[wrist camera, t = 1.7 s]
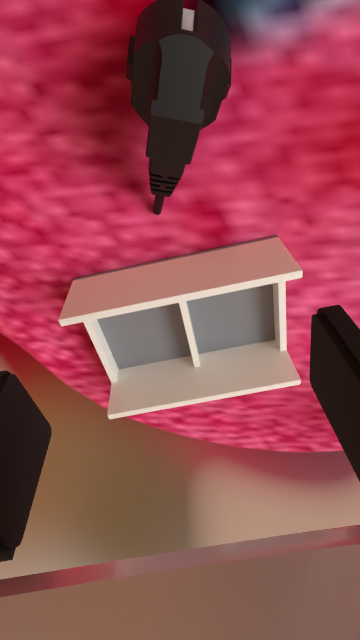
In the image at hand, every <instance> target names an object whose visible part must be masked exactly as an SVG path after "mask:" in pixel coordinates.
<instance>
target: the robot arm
mask: <svg viewBox="0 0 360 640" xmlns="http://www.w3.org/2000/svg"><path fill="white" fill-rule="evenodd" d="M310 382H311V385H312V388H313V390H314V392H315V394H316V396H317V398H318V400H319V402H320V404H321V406H322V408H323V410H324V412H325V414H326V416H327V418H328V420H329V422H330V424H331V426H332V428H333V430H334V432H335V434H336V436H337V438H338V440H339V442H340V444H341V445H342V447H343V449H344V451H345V453H346V455H347V457H348V459H349V461H350V463H351V465H352V467H353V469H354V471H355V473H356V475H357V477H358V479H359V481H360V329H359V328H358V327H357V326H356V324H355V323H354V322H353V321H352V319H351V318H350V317H349V316H348V314H347V313H346V312H345V311H344V309H343V308H342V307H341V306H340V305H334V306H329V307H324V308H320V309H318V311H317V314H314V315H312V323H311V352H310ZM50 438H51V427H50V424H49V423H48V421H47V420H46V419H45V417H44V416H43V414H42V413H41V411H40V410H39V408H38V407H37V405H36V404H35V402H34V401H33V400H32V398H31V397H30V395H29V394H28V392H27V391H26V389H25V388H24V386H23V385H22V384H21V382H20V381H19V379H18V378H17V377H16V375H14V374H11V373H10V372H8V371H1V372H0V562H1V561H7V560H12V559H13V556H14V552H15V549H16V547H18V546H19V545H20V543H21V541H22V538H23V535H24V531H25V528H26V524H27V520H28V517H29V513H30V510H31V506H32V502H33V499H34V495H35V492H36V488H37V485H38V481H39V477H40V474H41V470H42V467H43V463H44V460H45V456H46V452H47V449H48V445H49V442H50ZM0 640H360V525H355V526H347V527H339V528H332V529H324V530H317V531H309V532H302V533H295V534H289V535H282V536H276V537H269V538H262V539H256V540H249V541H243V542H236V543H229V544H223V545H217V546H209V547H204V548H197V549H190V550H183V551H178V552H171V553H165V554H159V555H152V556H146V557H139V558H133V559H126V560H120V561H113V562H107V563H101V564H94V565H88V566H82V567H76V568H70V569H63V570H57V571H51V572H45V573H39V574H32V575H27V576H20V577H14V578H8V579H1V580H0Z"/></svg>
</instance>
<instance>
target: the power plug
mask: <svg viewBox="0 0 360 640" xmlns="http://www.w3.org/2000/svg"><path fill="white" fill-rule="evenodd" d="M183 2H184V0H157V1H155V2H153V3H152V4H150V5H149V6H148V7H147V8H146V9H145V10H144V11H143V12H142V13H141V14H140V16H139V17H138V21H137V29H136V36H132V35H130V41H129V49H128V57H127V73H126V77H127V78H128V79H129V80H130V81H131V83H132V94H131V104H132V106H133V107H134V109H135V110H136V112H137V113H138V114H139V115H140V117H141V118H142V119H143V120H144V121H145V123H146V124H147V125H148V127H149V130H148V139H147V148H146V157H149V177H150V188H151V193H152V194H153V195H155V200H154V206H153V213H154V214H156V215H159V214H160V213H161V210H162V206H163V201H164V196H166V197H170V196H171V194H172V193H173V191H174V189H175V187H176V186H177V184H178V182H179V180H180V178H181V177H182V175H183V171H184V168H185V165H186V164H190V163H191V160H192V157H193V153H194V150H195V146H196V143H197V139H198V136H199V133H200V130H201V129H203V128H204V127H206V126H208V125H209V124H211V123H212V122H213V121H215V120H216V117H217V114H218V111H219V108H220V105H221V102H222V100H224V99H225V98H226V97H227V94H228V91H229V89H230V86H231V58H230V56H231V38H230V34H229V31H228V29H227V26H226V24H225V23H224V21H223V19H222V18H221V16H220V15H219V14H218V13H217V12H216V11H215V10H214V9H213V8H212V7H211V6H209V5H208V4H207V3H205V2H203V1H201V0H198V1H197V6H196V10H195V11H193V10H189V9H184V8H183Z"/></svg>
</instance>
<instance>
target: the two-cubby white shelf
mask: <svg viewBox="0 0 360 640" xmlns="http://www.w3.org/2000/svg"><path fill="white" fill-rule="evenodd" d="M298 278H302V269H301V267H300V266H299V265H298V263H297V262H296V261H295V259H294V258H293V257H292V255H291V254H290V253H289V251H288V250H287V249H286V247H285V246H284V245H283V243H282V242H281V240H280V239H279V238H278V236H277V235H275V236H271V237H266V238H261V239H257V240H252V241H247V242H242V243H238V244H233V245H228V246H224V247H219V248H214V249H209V250H205V251H200V252H195V253H191V254H186V255H181V256H176V257H172V258H167V259H162V260H158V261H153V262H148V263H143V264H139V265H134V266H129V267H125V268H120V269H115V270H110V271H106V272H101V273H96V274H92V275H87V276H82V277H77V278H74V279H73V282H72V285H71V287H70V290H69V292H68V295H67V298H66V300H65V303H64V306H63V308H62V311H61V314H60V316H59V319H58V321H59V323H60V325H61V326H66V325H71V324H76V323H81V322H83V323H84V325H85V327H86V329H87V331H88V334H89V336H90V338H91V340H92V342H93V344H94V346H95V349H96V351H97V353H98V355H99V357H100V359H101V362H102V364H103V366H104V368H105V370H106V372H107V374H108V377H109V379H110V381H111V383H112V384H111V391H110V399H109V406H108V417H109V419H113V418H118V417H124V416H129V415H135V414H140V413H146V412H151V411H157V410H162V409H168V408H173V407H179V406H184V405H190V404H195V403H201V402H206V401H212V400H217V399H223V398H228V397H233V396H239V395H244V394H250V393H255V392H261V391H266V390H272V389H277V388H283V387H288V386H294V385H299V384H301V379H300V377H299V375H298V373H297V371H296V369H295V367H294V365H293V363H292V360H291V358H290V356H289V354H288V352H287V348H286V291H285V281H288V280H293V279H298Z"/></svg>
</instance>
